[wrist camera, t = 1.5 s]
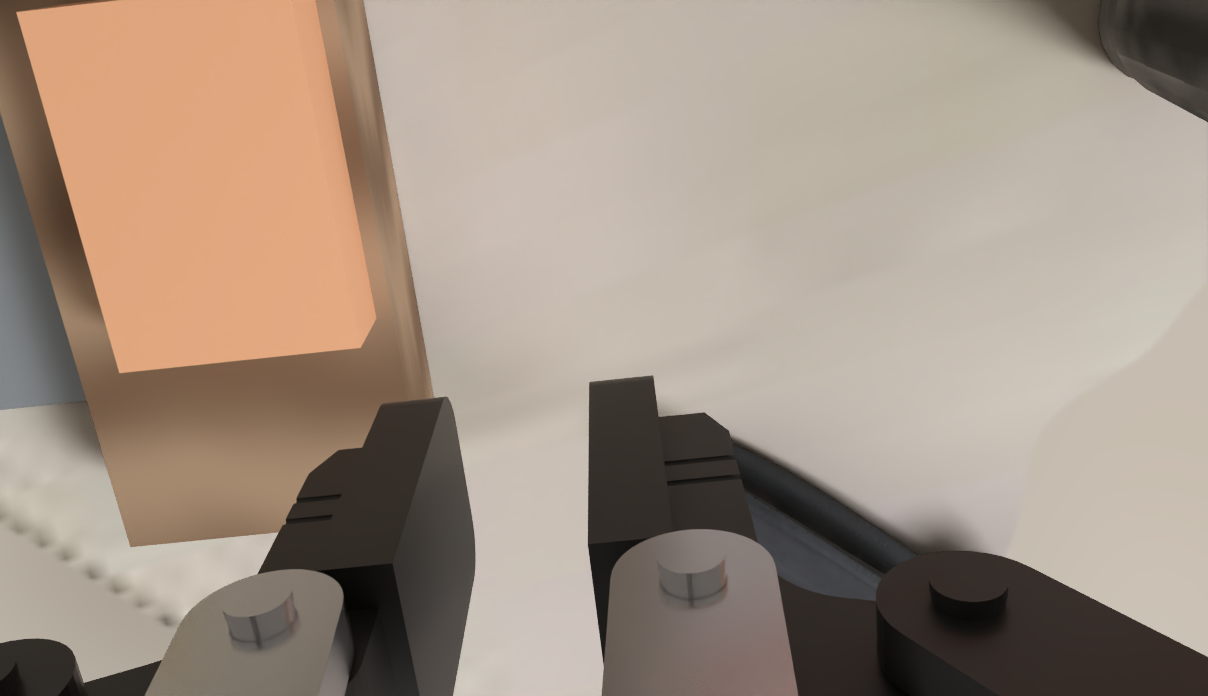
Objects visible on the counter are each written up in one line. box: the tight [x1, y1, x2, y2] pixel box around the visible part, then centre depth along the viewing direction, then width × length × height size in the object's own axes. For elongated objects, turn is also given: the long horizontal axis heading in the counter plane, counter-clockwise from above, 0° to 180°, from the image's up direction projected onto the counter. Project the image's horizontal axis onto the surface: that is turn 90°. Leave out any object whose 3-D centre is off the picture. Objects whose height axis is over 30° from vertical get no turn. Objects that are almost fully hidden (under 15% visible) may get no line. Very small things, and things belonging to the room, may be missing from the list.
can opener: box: [732, 443, 919, 601], centre depth 40 cm, size 18×7×6 cm, turn 54°
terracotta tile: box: [16, 0, 376, 373], centre depth 31 cm, size 10×7×2 cm
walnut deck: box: [0, 0, 434, 547], centre depth 35 cm, size 24×10×4 cm, turn 6°
